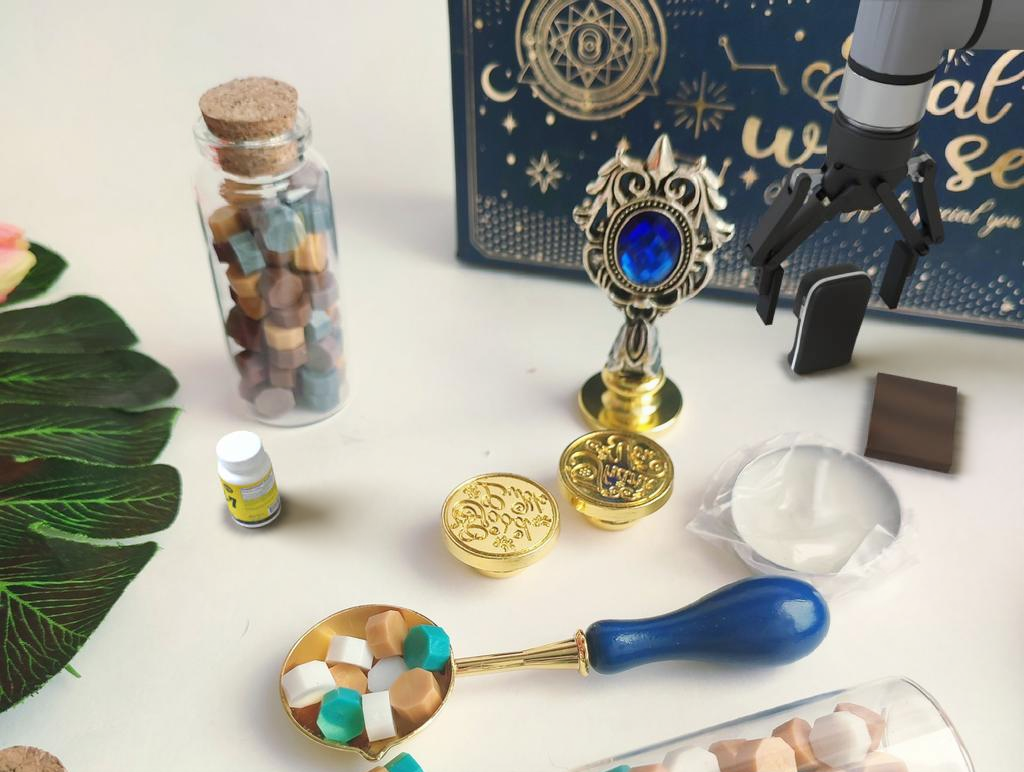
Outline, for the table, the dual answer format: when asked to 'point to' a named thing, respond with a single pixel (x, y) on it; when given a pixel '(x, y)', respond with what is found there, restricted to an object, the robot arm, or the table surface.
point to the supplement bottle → (248, 479)
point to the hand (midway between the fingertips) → (826, 309)
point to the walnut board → (912, 422)
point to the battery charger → (828, 316)
